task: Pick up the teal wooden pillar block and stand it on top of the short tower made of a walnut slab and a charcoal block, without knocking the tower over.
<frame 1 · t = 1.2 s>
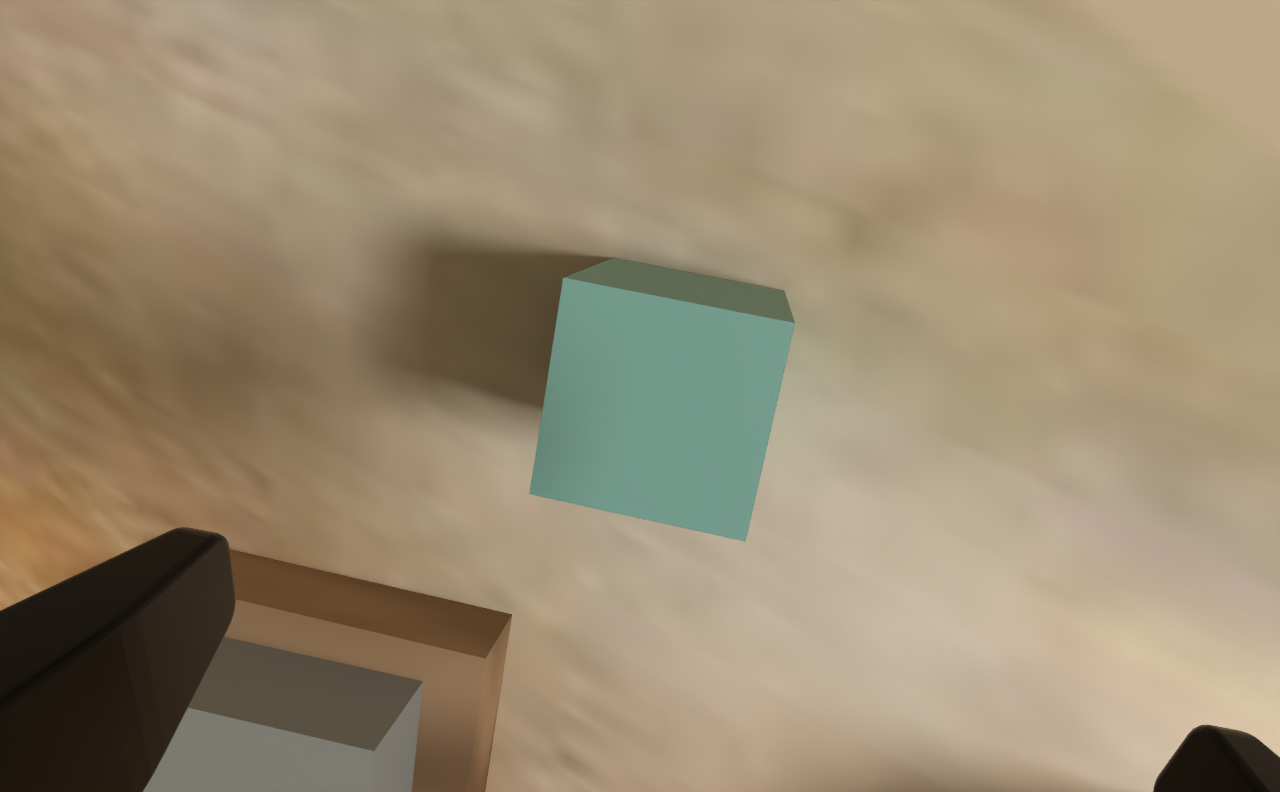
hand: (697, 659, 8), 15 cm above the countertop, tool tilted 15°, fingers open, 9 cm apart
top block: (294, 763, 24), point 2 cm above the countertop, touching bottom block
bottom block: (360, 701, 27), on the countertop, touching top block
pillar block: (681, 357, 22), on the countertop
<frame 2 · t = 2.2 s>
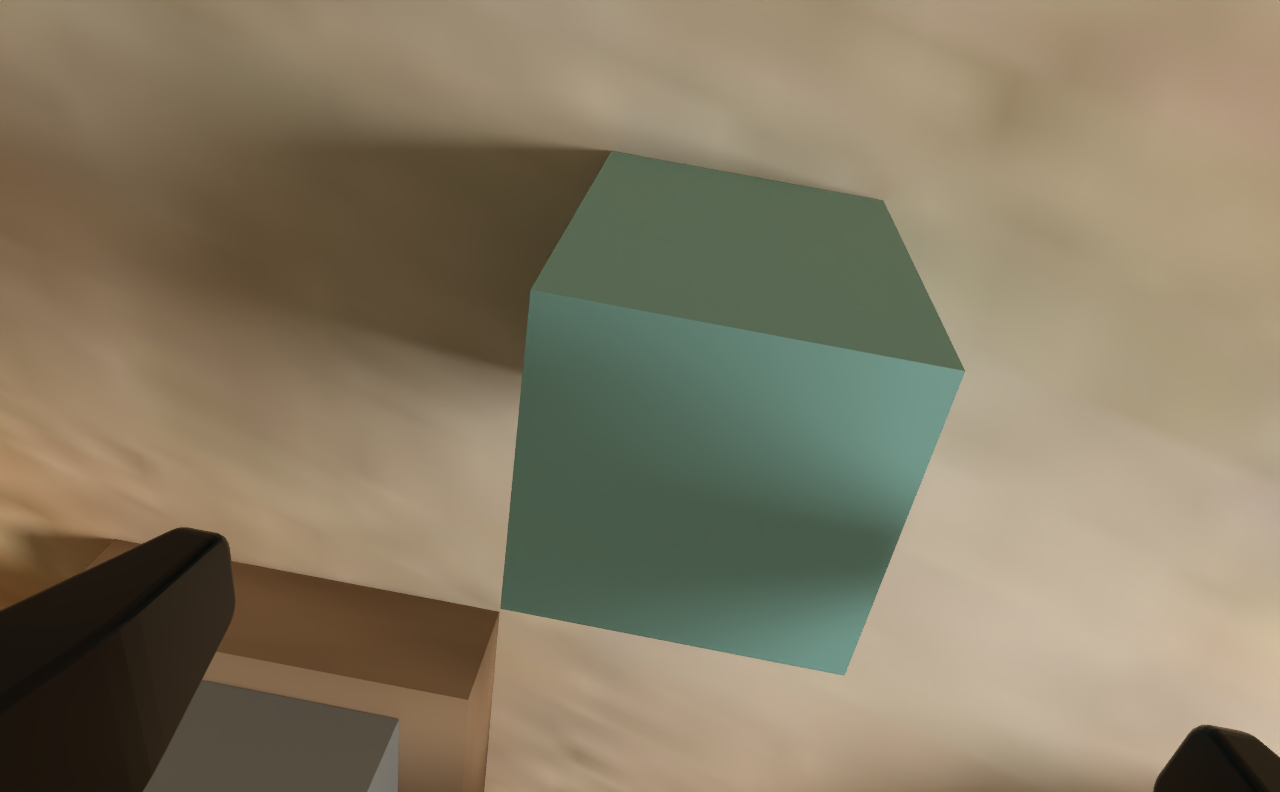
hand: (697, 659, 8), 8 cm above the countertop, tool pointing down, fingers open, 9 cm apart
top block: (248, 790, 19), point 2 cm above the countertop
bottom block: (324, 691, 22), on the countertop
pillar block: (719, 300, 15), on the countertop
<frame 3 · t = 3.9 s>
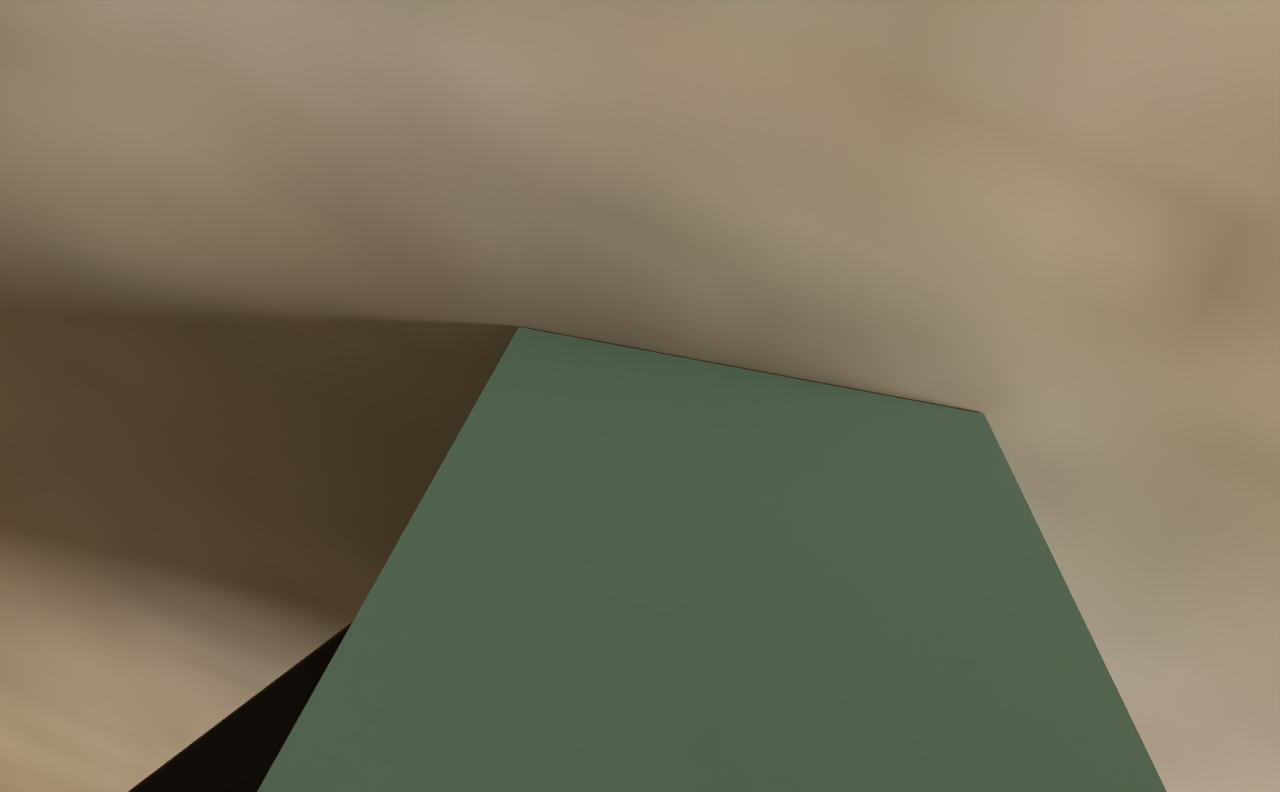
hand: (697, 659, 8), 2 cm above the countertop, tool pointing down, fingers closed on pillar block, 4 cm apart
pillar block: (705, 550, 9), on the countertop, touching gripper
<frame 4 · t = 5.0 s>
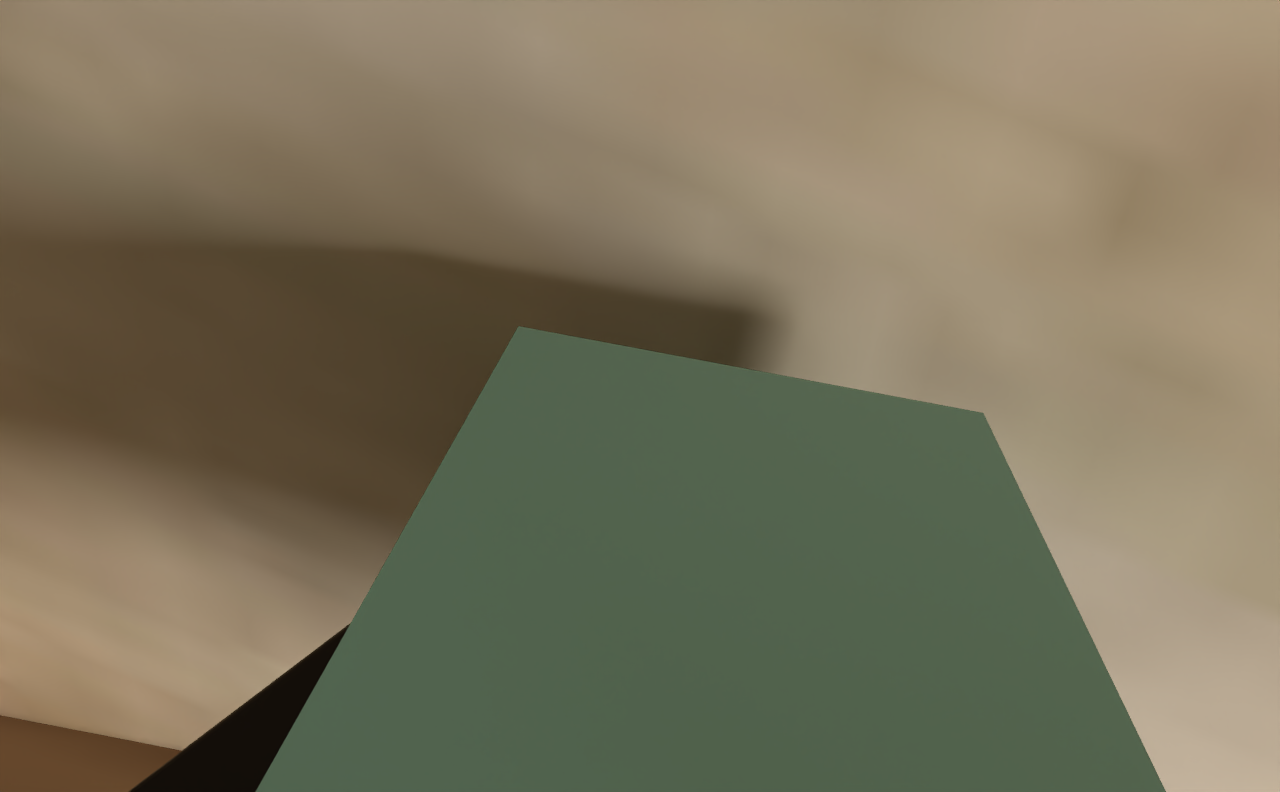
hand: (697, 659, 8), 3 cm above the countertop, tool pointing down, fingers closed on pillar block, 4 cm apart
pillar block: (704, 549, 9), point 2 cm above the countertop, touching gripper
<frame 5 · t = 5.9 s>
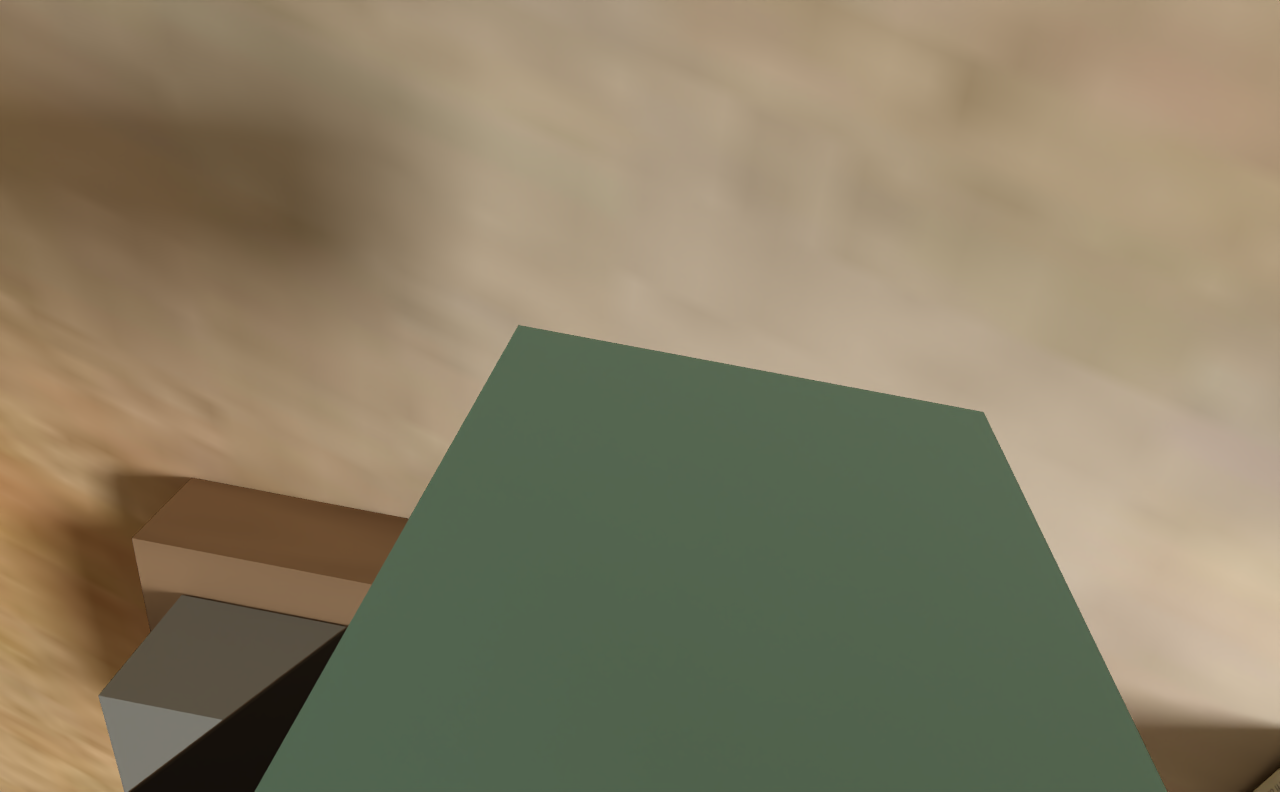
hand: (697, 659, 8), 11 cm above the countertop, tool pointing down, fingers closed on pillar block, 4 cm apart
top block: (330, 718, 22), point 2 cm above the countertop, touching bottom block
bottom block: (373, 621, 24), on the countertop, touching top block
pillar block: (705, 548, 9), point 9 cm above the countertop, touching gripper
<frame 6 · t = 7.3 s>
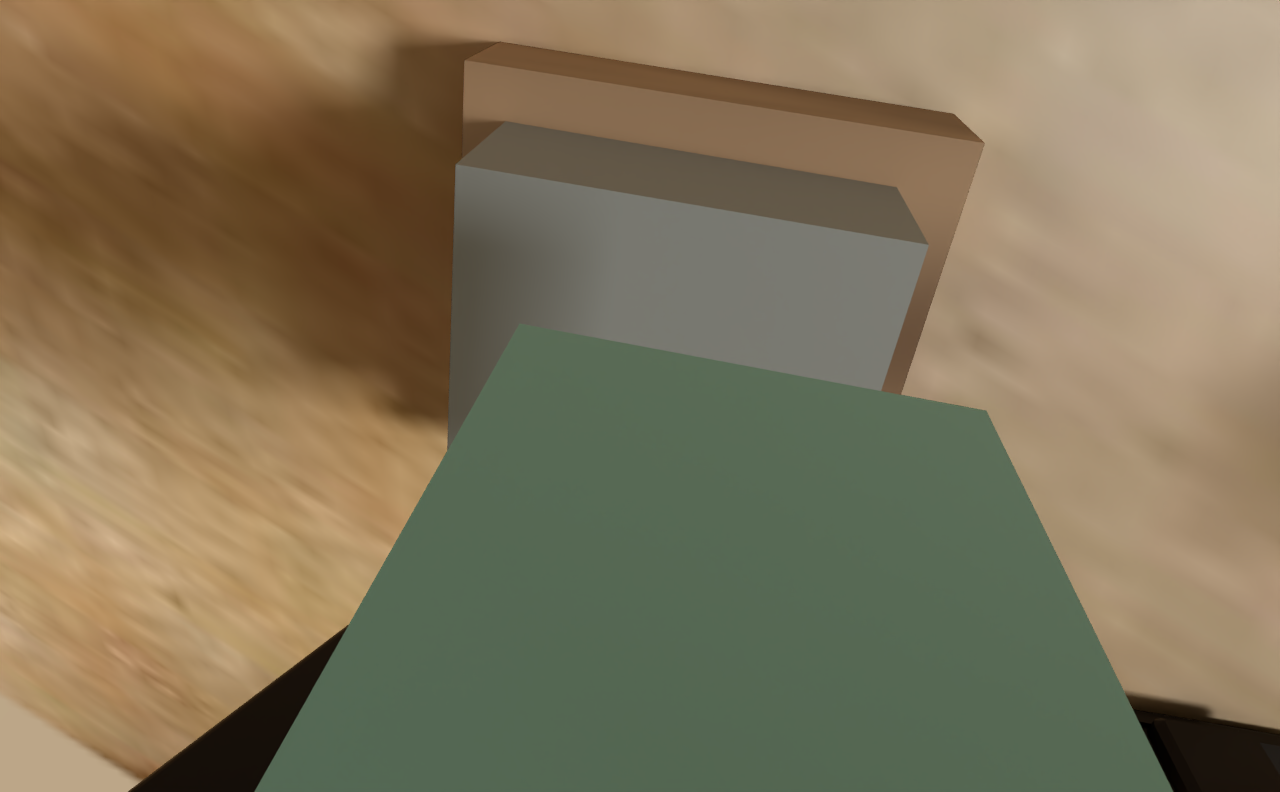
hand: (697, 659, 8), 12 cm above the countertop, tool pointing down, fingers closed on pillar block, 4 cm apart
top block: (669, 331, 17), point 2 cm above the countertop, touching bottom block
bottom block: (689, 279, 19), on the countertop, touching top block
pillar block: (706, 548, 9), point 10 cm above the countertop, touching gripper
when the fingers open (9 cm above the countertop, at t = 9.5 s): pillar block drops 2 cm, resting on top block.
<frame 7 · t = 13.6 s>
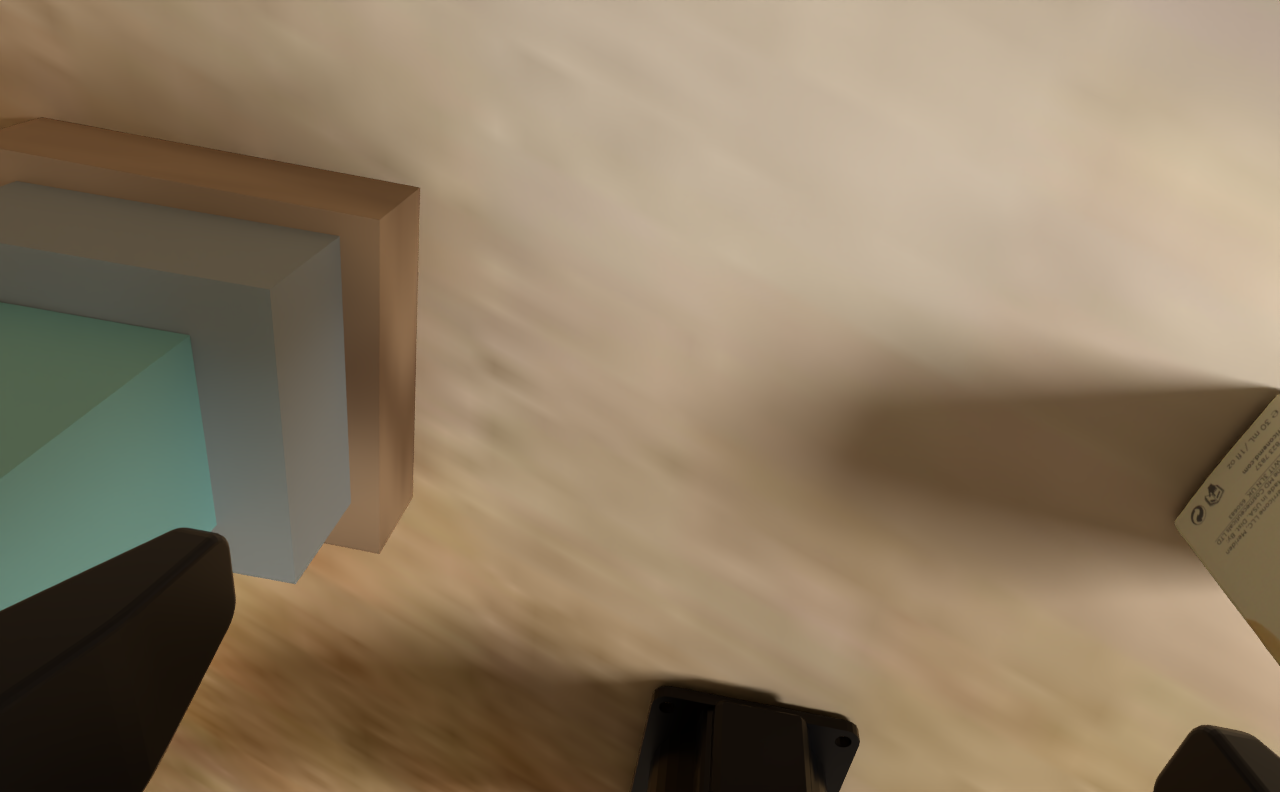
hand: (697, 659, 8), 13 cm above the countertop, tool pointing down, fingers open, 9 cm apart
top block: (197, 355, 19), point 2 cm above the countertop, touching bottom block, pillar block
bottom block: (256, 317, 22), on the countertop, touching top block
pillar block: (94, 416, 17), point 5 cm above the countertop, touching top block
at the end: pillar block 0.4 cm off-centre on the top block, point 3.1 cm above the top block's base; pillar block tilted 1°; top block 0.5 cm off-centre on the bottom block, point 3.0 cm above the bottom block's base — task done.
